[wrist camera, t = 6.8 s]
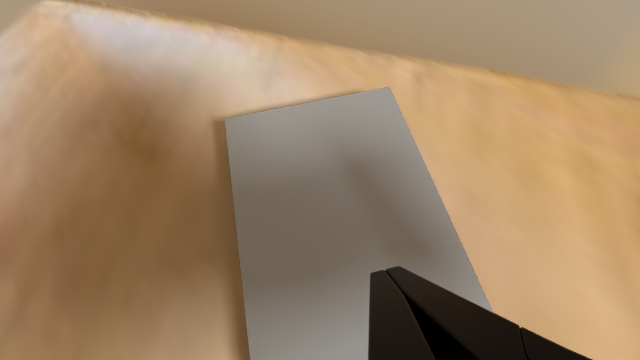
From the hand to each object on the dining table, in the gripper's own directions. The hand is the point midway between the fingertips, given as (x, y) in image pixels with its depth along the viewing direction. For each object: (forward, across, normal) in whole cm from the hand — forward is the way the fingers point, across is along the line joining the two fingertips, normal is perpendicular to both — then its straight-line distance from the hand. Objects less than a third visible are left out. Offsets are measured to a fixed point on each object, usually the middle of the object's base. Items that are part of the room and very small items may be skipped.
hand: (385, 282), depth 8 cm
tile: (+2, 0, +6) cm, 7 cm away
